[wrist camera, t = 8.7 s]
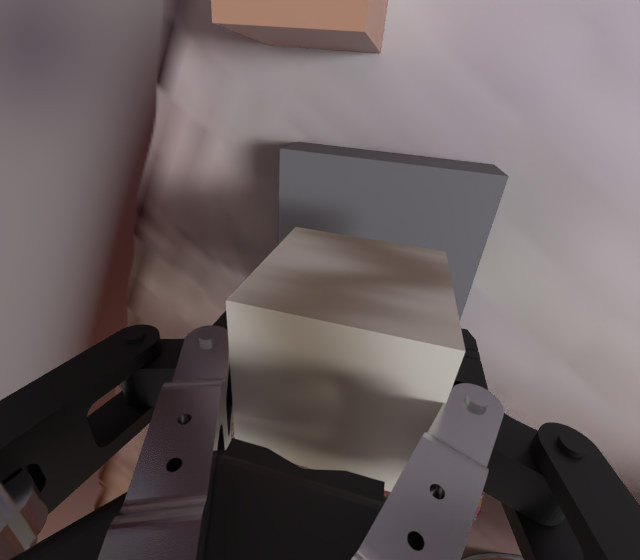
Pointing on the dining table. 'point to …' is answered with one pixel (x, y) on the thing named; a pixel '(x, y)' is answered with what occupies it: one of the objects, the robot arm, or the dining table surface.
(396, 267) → the cream cube
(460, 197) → the plinth
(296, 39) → the terracotta cube
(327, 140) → the dining table surface
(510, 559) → the canned food
